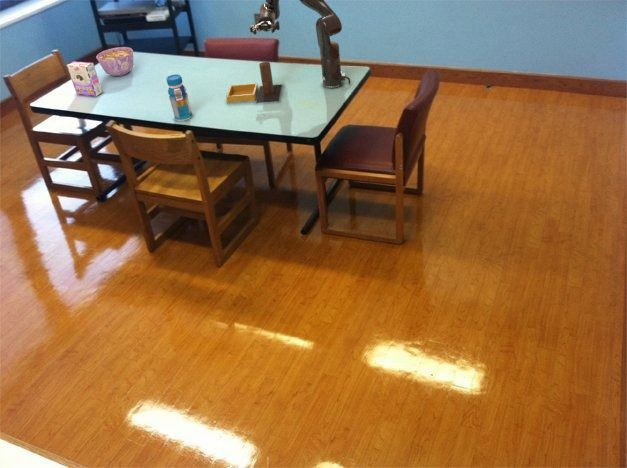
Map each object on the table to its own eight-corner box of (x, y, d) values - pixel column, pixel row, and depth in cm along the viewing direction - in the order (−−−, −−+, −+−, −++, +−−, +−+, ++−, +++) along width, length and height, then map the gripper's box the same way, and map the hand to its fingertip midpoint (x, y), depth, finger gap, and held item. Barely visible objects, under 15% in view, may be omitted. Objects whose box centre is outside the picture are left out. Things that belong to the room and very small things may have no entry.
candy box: (103, 92, 316) (93, 62, 307) (96, 97, 312) (85, 66, 302) (84, 90, 322) (73, 60, 312) (76, 94, 318) (65, 64, 308)
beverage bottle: (171, 120, 280) (160, 80, 268) (180, 112, 286) (170, 72, 274) (186, 122, 277) (176, 81, 265) (195, 114, 283) (186, 73, 271)
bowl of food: (133, 78, 328) (127, 58, 321) (98, 82, 329) (91, 61, 323) (142, 65, 344) (136, 45, 337) (108, 68, 346) (102, 48, 339)
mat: (282, 85, 301) (281, 84, 301) (278, 102, 285) (278, 101, 285) (260, 87, 302) (260, 86, 302) (256, 104, 286) (255, 103, 286)
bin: (258, 89, 299) (257, 83, 297) (255, 101, 288) (254, 94, 286) (231, 91, 300) (230, 85, 298) (227, 103, 290) (226, 96, 288)
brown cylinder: (274, 90, 295) (270, 61, 286) (273, 95, 291) (269, 65, 282) (264, 91, 295) (259, 62, 287) (263, 96, 291) (258, 66, 282)
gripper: (251, 15, 298) (247, 25, 284) (279, 12, 296) (277, 22, 283) (254, 30, 302) (250, 40, 289) (281, 27, 301) (279, 38, 288)
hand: (263, 31), depth 286 cm, fingers open, 8 cm apart
